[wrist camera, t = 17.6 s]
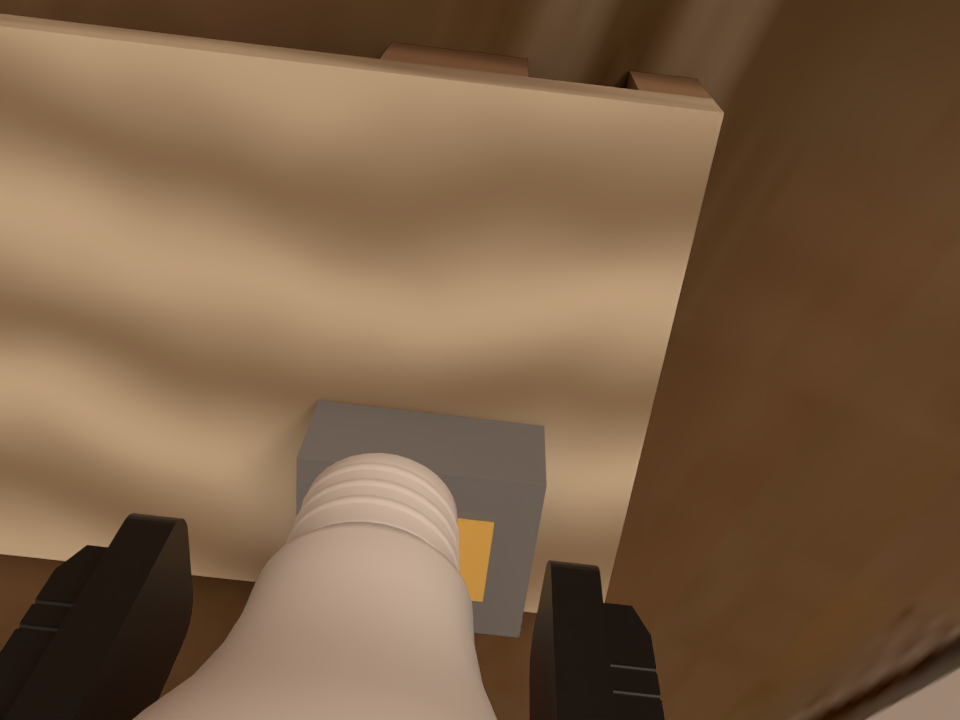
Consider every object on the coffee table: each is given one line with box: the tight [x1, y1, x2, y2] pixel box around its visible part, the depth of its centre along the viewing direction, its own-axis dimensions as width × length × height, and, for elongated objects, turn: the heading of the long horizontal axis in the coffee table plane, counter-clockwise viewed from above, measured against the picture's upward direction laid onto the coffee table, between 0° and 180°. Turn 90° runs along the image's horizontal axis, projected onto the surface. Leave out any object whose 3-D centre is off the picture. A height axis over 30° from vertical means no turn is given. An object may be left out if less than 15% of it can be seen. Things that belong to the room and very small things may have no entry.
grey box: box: [296, 400, 547, 638], centre depth 27 cm, size 6×7×3 cm
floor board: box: [0, 14, 724, 613], centre depth 28 cm, size 18×24×4 cm
